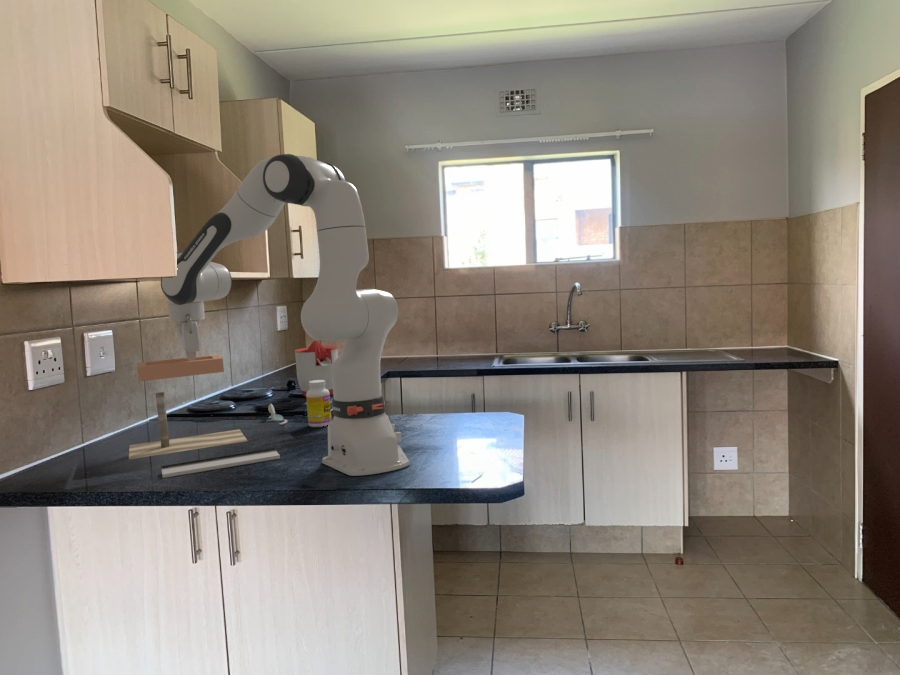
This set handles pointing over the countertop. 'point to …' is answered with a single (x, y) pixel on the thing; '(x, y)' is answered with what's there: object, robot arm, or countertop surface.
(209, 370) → the link
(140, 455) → the stand
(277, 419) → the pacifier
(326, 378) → the citrus juicer
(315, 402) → the supplement bottle
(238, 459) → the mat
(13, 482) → the countertop surface
